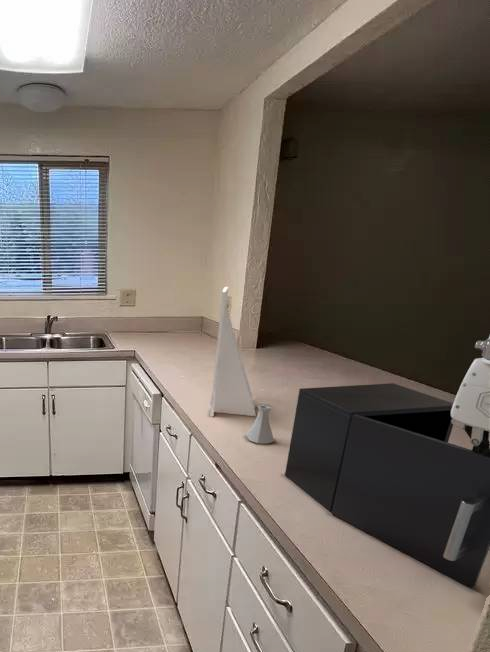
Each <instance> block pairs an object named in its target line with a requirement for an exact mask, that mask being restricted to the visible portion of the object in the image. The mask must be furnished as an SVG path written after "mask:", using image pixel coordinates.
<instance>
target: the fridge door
mask: <svg viewBox="0 0 490 652" xmlns="http://www.w3.org/2000/svg"><path fill="white" fill-rule="evenodd" d="M330 514H331V515H332V516H334V517H336V518H338V519H340V520H343V521H344V522H346V523H348V524H350V525H352V526H354V527H356V528H357V529H359V530H361V531H363V532H365V533H366V534H368V535H371V536H372V537H373V538H376V539H378V540H380V541H381V542H383V543H385V544H387V545H390V546H391V547H393V548H395V549H397V550H399V551H401V552H402V553H404V554H406V555H407V556H410V557H412V558H413V559H416V560H418V561H419V562H421V563H424V564H425V565H427V566H429V567H431V568H433V569H434V570H436V571H438V572H440V573H442V574H444V575H447V576H448V577H450V578H451V579H453V580H455V581H456V582H459V583H461V584H463V585H465V586H467V587H468V588H470V589H473V588H475V587H476V585H477V582H478V579H479V577H480V574H481V571H482V569H483V566H484V564H485V561H486V558H487V556H488V552H489V550H490V456H489V455H486V454H483V453H480V452H476V451H473V450H472V449H470V448H467V447H463V446H460V445H457V444H454V443H450V442H448V443H447V442H444V441H441V440H438V439H434V438H431V437H428V436H425V435H421V434H418V433H415V432H412V431H409V430H405V429H402V428H399V427H396V426H392V425H389V424H386V423H383V422H379V421H376V420H373V419H370V418H366V417H363V416H360V415H357V414H355V415H353V417H352V421H351V426H350V430H349V435H348V439H347V444H346V448H345V453H344V458H343V462H342V467H341V471H340V476H339V480H338V485H337V489H336V494H335V499H334V503H333V508H332V511H331V512H330Z"/></svg>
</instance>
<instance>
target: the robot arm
mask: <svg viewBox="0 0 490 652" xmlns="http://www.w3.org/2000/svg"><path fill="white" fill-rule="evenodd" d="M474 349H475V350H478V351H481V352H482V353H481V356H482V357H478V358H477V357H476V358H474V360H473V362H471V365H470V367H469V368H468V369H467V372H466V374H465V376H464V378H463V379H462V381H461V383H460V386H459V388H458V391H457V393H456V396H455V398H454V400H453V402H452V403H453V406H452V409H451V417H452V420H451V423H452V424H453V426H455V427H457V428H459V429H461V430H464V432H465V433H466V434H467V436H468V437H469V439H470V444H471V445H472V449H471V450H473V451H476V452H480V453H483V454H486V455H489V456H490V335H489V336H488V338H486V340H477V341H476V342H475V344H474ZM457 406H458V407H457Z"/></svg>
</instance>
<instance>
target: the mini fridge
mask: <svg viewBox="0 0 490 652" xmlns="http://www.w3.org/2000/svg"><path fill="white" fill-rule="evenodd" d="M298 389H299V390H298V396H297V401H296V408H295V413H294V420H293V426H292V432H291V437H290V441H289V442H290V443H289V447H288V448H289V449H288V453H287V454H288V455H287V460H286V465H285V472H284V476H285V477H286V478H287V479H289V480H290V481H291V482H292V483H293V484H294V485H296V486H297V487H299V488H300V489H301V490H302V491H303V492H305V493H306V494H308V496H310V497H311V498H312V499H313V500H315V501H316V502H317V503H319V504H320V505H321V506H322V507H323V508H325V509H326V510H327V511H328V512H330V513H331V512H332V508H333V503H334V499H335V494H336V489H337V485H338V480H339V476H340V471H341V467H342V462H343V458H344V453H345V448H346V444H347V439H348V435H349V430H350V426H351V421H352V417H353V415H355V414H357V415H360V416H363V417H366V418H370V419H373V420H376V421H379V422H383V423H386V424H389V425H392V426H396V427H399V428H402V429H405V430H409V431H412V432H415V433H418V434H421V435H425V436H428V437H431V438H434V439H438V440H441V441H444V442H447V443H449V440H450V437H451V434H452V431H453V427H454V425H453V424H452V423H451V420H452V417H451V409H452V406H453V403H454V402H451V401H448V400H445V399H443V398H439V397H436V396H433V395H430V394H427V393H424V392H421V391H418V390H415V389H412V388H410V387H406V386H403V385H400V384H397V383H394V382H392V383H391V382H390V383H375V384H374V383H373V384H358V385H342V386H341V385H339V386H322V387H321V386H320V387H319V386H318V387H305V388H303V387H302V388H298ZM457 407H458V406H457Z"/></svg>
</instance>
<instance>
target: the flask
mask: <svg viewBox="0 0 490 652" xmlns="http://www.w3.org/2000/svg"><path fill="white" fill-rule="evenodd" d="M257 408H258V411H257V415H256V419H255V420H254V422H253V424H252V426H251V427H250V429H249V431H248V432H247V434H246V438H247V439H248V440H249V441H250V442H253V443H256V444H265V445H266V444H271V443H273V442H275V439H274V436H273V435H274V434H273V431H272V428H271V423H270V411H271V409H272V407H271V406H269V405H265V404H261V405H258V406H257Z"/></svg>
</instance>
